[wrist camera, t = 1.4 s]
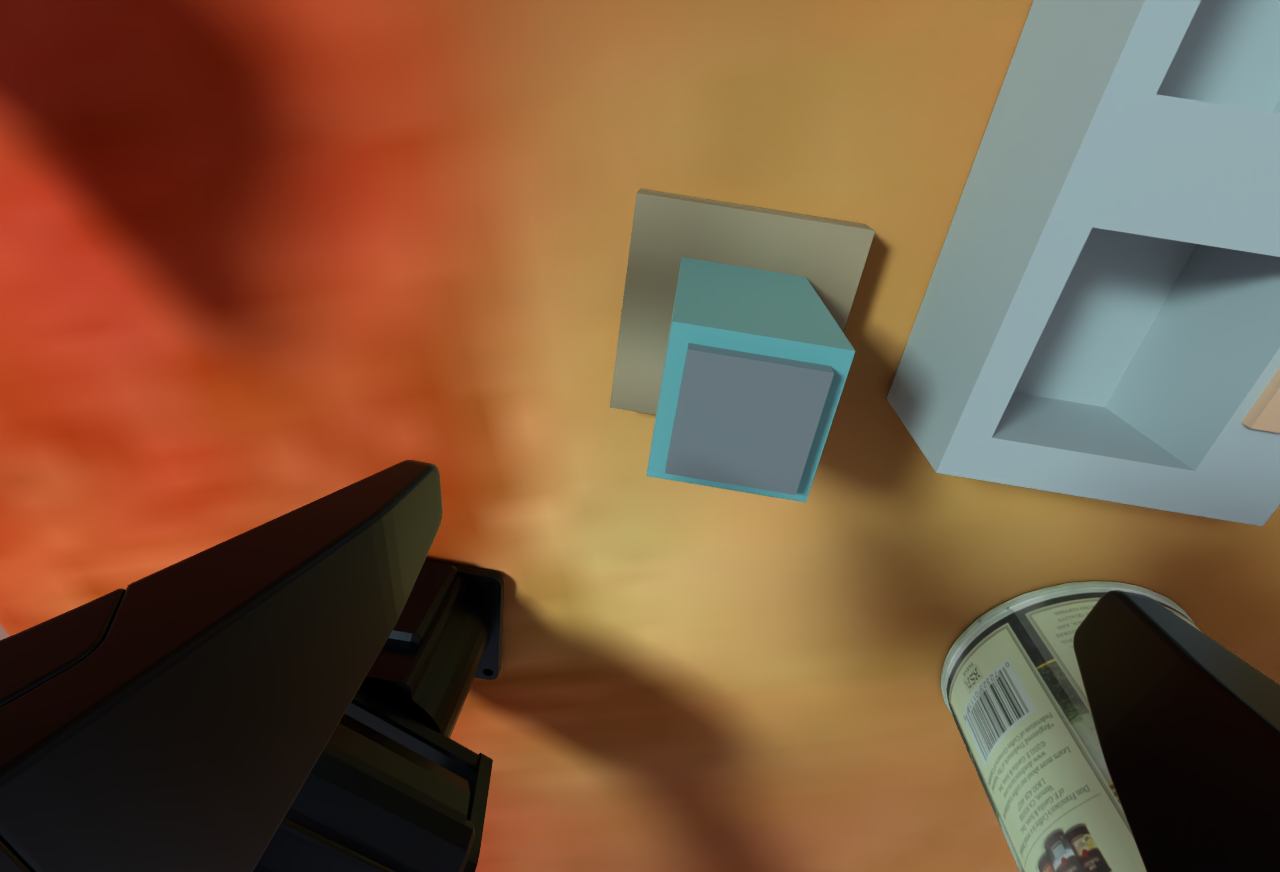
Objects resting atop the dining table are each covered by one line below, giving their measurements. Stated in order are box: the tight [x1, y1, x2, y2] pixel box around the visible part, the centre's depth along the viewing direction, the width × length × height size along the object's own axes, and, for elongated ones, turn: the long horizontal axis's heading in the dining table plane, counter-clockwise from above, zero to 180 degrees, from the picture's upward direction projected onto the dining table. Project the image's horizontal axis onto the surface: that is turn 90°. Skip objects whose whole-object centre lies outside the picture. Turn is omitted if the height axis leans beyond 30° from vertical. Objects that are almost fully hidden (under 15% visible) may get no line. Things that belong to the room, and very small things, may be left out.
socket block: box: [887, 0, 1280, 527], centre depth 15 cm, size 16×9×5 cm, turn 172°
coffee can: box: [940, 581, 1201, 872], centre depth 20 cm, size 10×10×14 cm
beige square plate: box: [610, 189, 875, 415], centre depth 19 cm, size 7×7×1 cm
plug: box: [647, 257, 855, 502], centre depth 16 cm, size 4×4×7 cm
